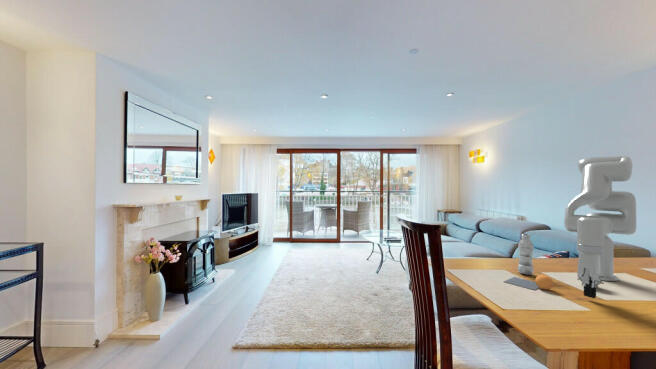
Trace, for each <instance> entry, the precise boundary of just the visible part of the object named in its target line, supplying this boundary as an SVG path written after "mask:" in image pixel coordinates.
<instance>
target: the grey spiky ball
mask: <svg viewBox="0 0 656 369" xmlns="http://www.w3.org/2000/svg"><path fill="white" fill-rule="evenodd" d="M601 277H603V276H600V277H599V278H598V279H596V288H599V285H601V284H602V285H604V284H605V283H604V282H602V281H603V280H601ZM577 280H578V281H579V280H580V281H581V285H582V286H584V276H583V277H581V278H578V277H577Z"/></svg>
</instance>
